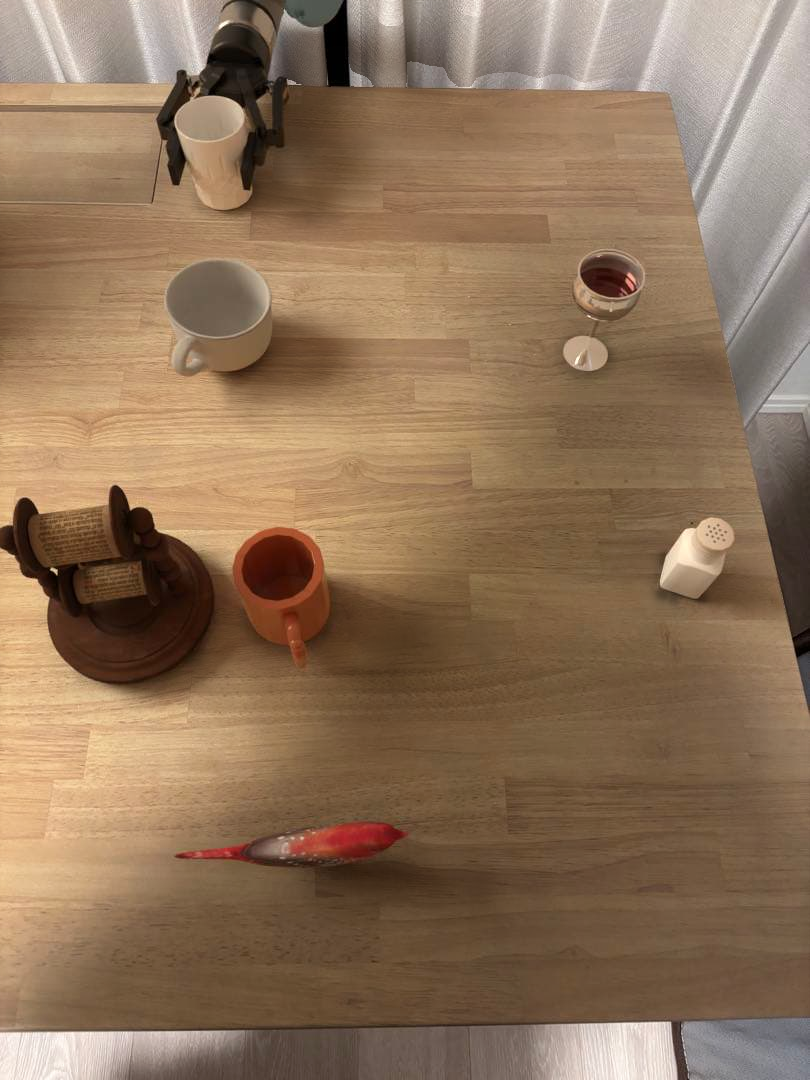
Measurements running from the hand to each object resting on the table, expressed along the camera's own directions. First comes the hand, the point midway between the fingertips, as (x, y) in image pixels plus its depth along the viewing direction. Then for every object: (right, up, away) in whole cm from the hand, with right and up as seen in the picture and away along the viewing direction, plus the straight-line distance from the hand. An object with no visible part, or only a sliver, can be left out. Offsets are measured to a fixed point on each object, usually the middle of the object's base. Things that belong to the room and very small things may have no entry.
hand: (209, 177), depth 94 cm
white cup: (0, +2, +8) cm, 8 cm away
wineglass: (+42, -21, -3) cm, 47 cm away
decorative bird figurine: (+14, -67, -26) cm, 74 cm away
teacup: (+2, -21, -4) cm, 22 cm away
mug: (+12, -49, -17) cm, 53 cm away
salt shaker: (+49, -45, -15) cm, 68 cm away
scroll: (-3, -48, -17) cm, 51 cm away
